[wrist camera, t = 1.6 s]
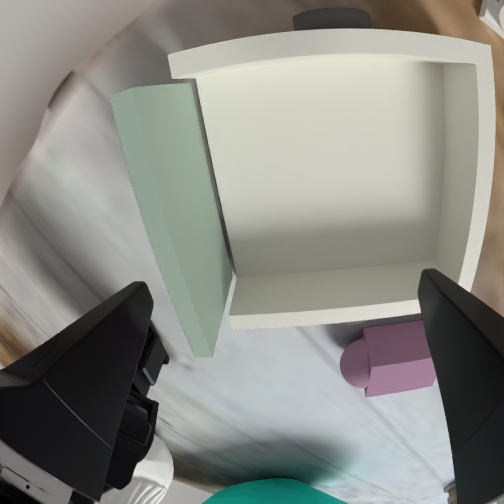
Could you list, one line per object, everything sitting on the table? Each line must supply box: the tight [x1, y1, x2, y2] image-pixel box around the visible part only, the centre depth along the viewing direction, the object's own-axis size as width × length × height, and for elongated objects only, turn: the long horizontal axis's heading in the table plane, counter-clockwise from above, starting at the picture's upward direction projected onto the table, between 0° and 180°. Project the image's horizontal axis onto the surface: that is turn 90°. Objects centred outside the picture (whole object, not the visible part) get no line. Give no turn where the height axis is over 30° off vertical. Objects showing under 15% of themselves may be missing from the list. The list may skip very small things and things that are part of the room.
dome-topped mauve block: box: [340, 320, 436, 397], centre depth 24 cm, size 11×4×4 cm, turn 99°
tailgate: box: [110, 83, 233, 357], centre depth 16 cm, size 1×13×8 cm, turn 9°
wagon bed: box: [168, 8, 495, 330], centre depth 16 cm, size 16×19×5 cm
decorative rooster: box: [94, 434, 174, 504], centre depth 29 cm, size 25×16×25 cm, turn 40°
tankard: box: [444, 482, 457, 504], centre depth 54 cm, size 20×13×15 cm, turn 6°
